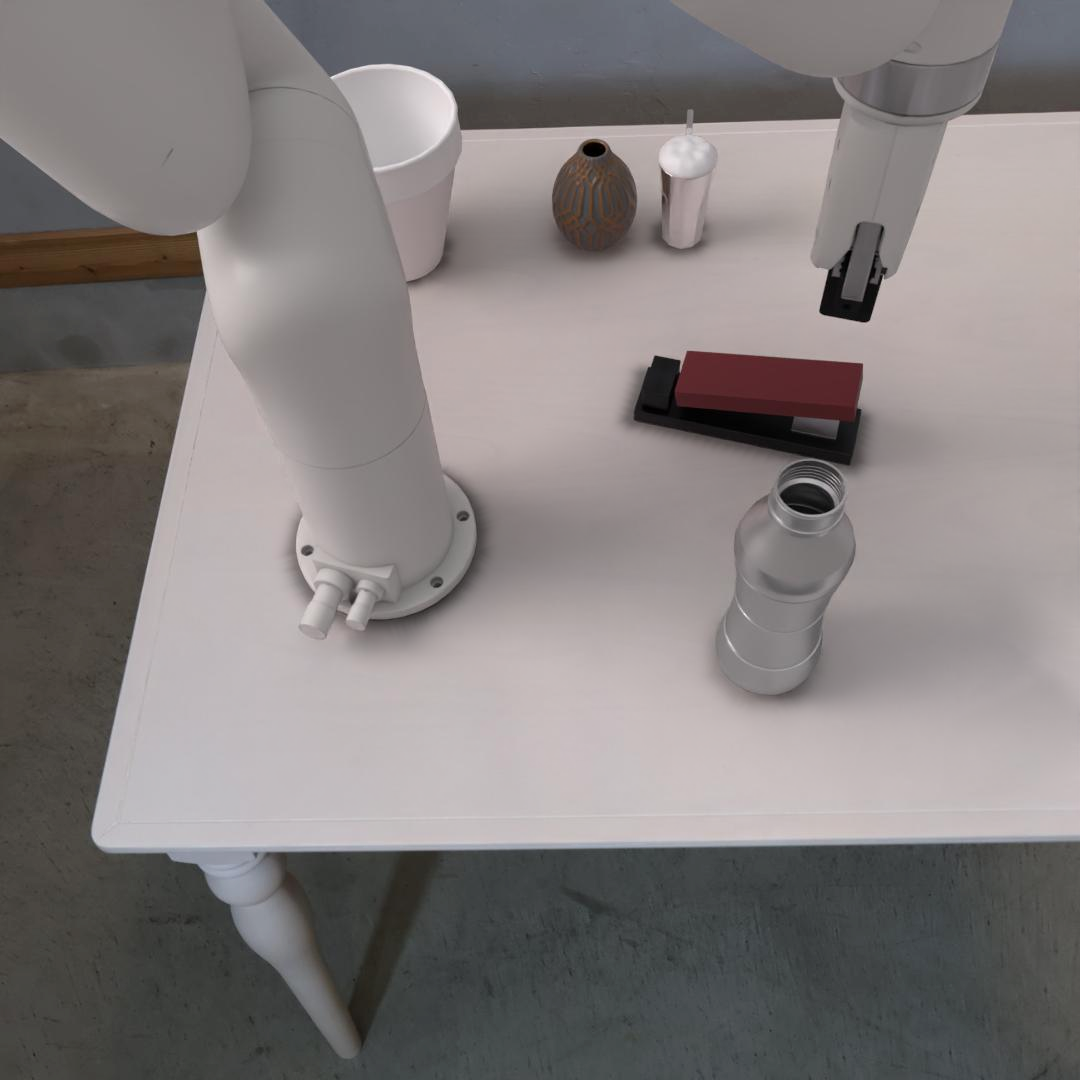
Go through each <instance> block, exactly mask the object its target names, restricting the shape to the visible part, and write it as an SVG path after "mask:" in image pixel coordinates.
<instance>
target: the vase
mask: <svg viewBox="0 0 1080 1080" xmlns="http://www.w3.org/2000/svg"><path fill="white" fill-rule="evenodd" d="M551 207H552V214H553V219H554V221H555V224H556V226H557V228H558V230H559V233H561V234H562V236H563V238H565V239H566V240H567V241H568V242H569V243H570V244H572V245H573V246H575V247H577V248H579V249H582V250H585V251H591V252H596V251H597V252H598V251H601V250H606V249H608V248H609V249H610V248H611V247H613V246H616V244H618V243H619V242H620V241H622V240H623V239H624V238H625V237H626V236H627V234H628V233H629V231H630V229H631V227H632V226H633V224H634V221H635V217H636V214H637V208H638V192H637V185H636V182H635V179H634V176H633V174H632V171H631V170H630V168H629V167H628V165H627V164H626V163H625V161H624V160H623V159H621V158H620V157H619V156H618V155H617V154H615V152H613V150H612V149H611V146H610V145H609V144H608V142H606V141H605V140H603V139H600V138H590V139H586V140H584V141H583V142H582V143H581V144H580V145H579V146H578V148H577V151H576V152H575V153H574V154H572V156H570V157H569V158H568V159H567V160H566V161H565V162H564V163H563V164H562V166H561V167H560V169H559V171H558V173H557V175H556V178H555V180H554V183H553V186H552V192H551Z"/></svg>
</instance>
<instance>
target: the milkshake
mask: <svg viewBox="0 0 1080 1080" xmlns="http://www.w3.org/2000/svg"><path fill="white" fill-rule="evenodd" d="M694 111H695V110H694V109H687V111H686V112H687V113H686V128H685V129H686V130H685V135H676V136H674V137H672V138H671V139H668V140H667V141H666V142H665V143H664V144H663V145H662V147H661V148H660V150H659V152H658V156H657V158H658V173H659V185H660V198H661V199H660V200H661V201H660V202H661V229H662V230H661V232H662V233H661V234H662V239H663V240H664V242H665V243H666V244H667V245H668V246H669V247H671V248H676V249H679V250H683V249H688V248H693V247H695V245H697V244H698V243H699V242H700V241H701V239H702V235H703V229H704V225H705V218H706V213H707V209H708V204H709V198H710V194H711V190H712V185H713V181H714V176H715V172H716V168H717V165H718V161H719V160H718V158H719V156H718V155H719V154H718V149H717V148H716V147H715V145H713V144H712V143H711V142H710V141H709V140H708V139H707V138H705V137H703V136H696V135H693V127H694V126H693V124H694Z"/></svg>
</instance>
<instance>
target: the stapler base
mask: <svg viewBox="0 0 1080 1080" xmlns="http://www.w3.org/2000/svg"><path fill="white" fill-rule="evenodd" d="M646 369H647V370H646V373H645V375H644V378H643V381H642V385H641V388H640V391H639V394H638V396H637V400H636V404H635V405H634V410H633V421H636V422H640V423H645V424H650V425H655V426H659V427H665V428H669V429H673V430H678V431H683V432H688V433H692V434H697V435H702V436H707V437H711V438H715V439H721V440H726V441H729V442H730V441H731V442H735V443H740V444H745V445H750V446H754V447H760V448H764V449H769V450H773V451H779V452H784V453H789V454H794V455H798V456H803V457H808V458H811V459H818V460H822V461H825V462H831V463H836V464H842V465H847V466H850V465H851V463H852V459H853V456H854V452H855V447H856V442H857V436H858V431H859V430H858V429H859V426H860V422H861V421H860V420H861V416H862V410H863V409H862V408H858V407H857V411H856V416H855V421H854V422H849V421H838V420H827V419H816V418H805V417H794V416H783V415H772V414H761V413H750V412H738V411H727V410H716V409H705V408H694V407H683V406H677V403H676V397H675V388H676V385H677V382H678V379H679V375H680V372H681V359H676V358H671V357H667V356H661V355H657V354H655V355H654V356H653V359H652V361H651V364H650V366H648V367H647V368H646Z"/></svg>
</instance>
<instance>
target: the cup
mask: <svg viewBox="0 0 1080 1080" xmlns="http://www.w3.org/2000/svg"><path fill="white" fill-rule="evenodd" d="M329 77H330V78H331V79H332V80H333V82H334V83H335V84H336V85H337V87H338V88H339V90H340V91H341V92H342V94H343V95H344V97H345V98H346V100H347V101H348V103H349V104H350V106H351V108H352V110H353V112H354V114H355V116H356V118H357V121H358V123H359V126H360V128H361V131H362V134H363V137H364V140H365V144H366V146H367V150H368V153H369V157H370V160H371V163H372V167H373V170H374V174H375V177H376V181H377V184H378V185H379V188H380V191H381V194H382V197H383V201H384V204H385V208H386V211H387V214H388V218H389V221H390V224H391V227H392V231H393V234H394V238H395V241H396V244H397V248H398V251H399V255H400V258H401V262H402V266H403V270H404V274H405V278H406V282H411V281H416V280H419V279H421V278H424V276H427V275H428V274H430V273H431V272H432V271H434V270H435V269H436V267H437V266H438V265H439V264H440V262H441V260H442V258H443V254H444V250H445V242H446V234H447V228H448V227H447V226H448V221H449V215H450V214H449V213H450V206H451V201H452V199H451V198H452V192H453V185H454V179H455V171H456V165H457V163H458V161H459V159H460V157H461V154H462V152H463V135H462V130H461V125H460V121H459V116H458V113H459V112H458V110H459V109H458V108H459V106H458V103H457V101H456V98H455V95H454V93H453V92H452V90H451V89H450V88H449V87H448V86H447V85H446V83H445V82H443V80H441V79H440V78H438V77H437V76H434V74H432V73H430V72H428V71H425V70H422V69H419V68H416V67H413V66H409V65H402V64H394V63H381V64H379V63H378V64H367V65H363V66H358V67H354V68H350V69H347V70H345V71H341V72H339V73H336V74H334V75H332V76H329Z"/></svg>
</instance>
